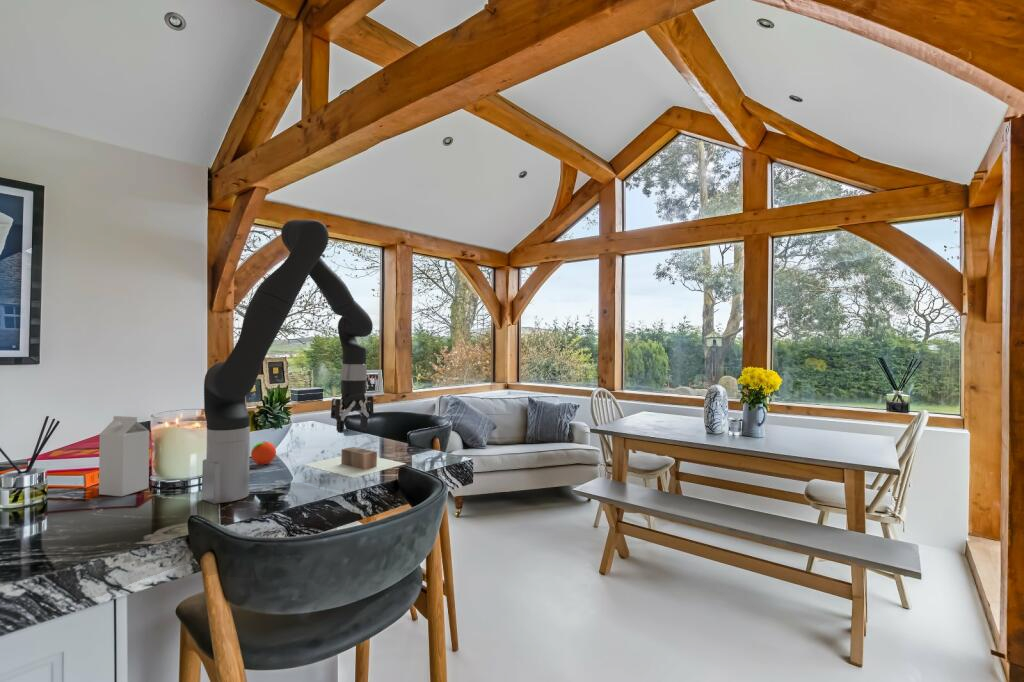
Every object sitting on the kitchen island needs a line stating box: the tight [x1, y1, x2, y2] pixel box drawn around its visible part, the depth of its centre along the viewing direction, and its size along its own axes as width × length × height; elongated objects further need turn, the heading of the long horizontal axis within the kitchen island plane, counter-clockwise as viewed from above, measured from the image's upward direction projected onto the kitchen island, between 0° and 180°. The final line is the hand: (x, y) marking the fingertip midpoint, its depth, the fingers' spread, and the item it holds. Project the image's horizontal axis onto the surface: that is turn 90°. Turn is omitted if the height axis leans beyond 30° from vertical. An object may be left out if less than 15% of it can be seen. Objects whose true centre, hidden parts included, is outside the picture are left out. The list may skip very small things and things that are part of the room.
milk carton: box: [98, 415, 150, 497], centre depth 125 cm, size 7×7×19 cm
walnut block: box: [341, 446, 378, 469], centre depth 152 cm, size 4×4×11 cm
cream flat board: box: [303, 455, 407, 479], centre depth 153 cm, size 20×24×1 cm
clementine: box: [250, 441, 277, 466], centre depth 154 cm, size 8×7×7 cm
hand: (352, 430), depth 154 cm, fingers open, 8 cm apart
